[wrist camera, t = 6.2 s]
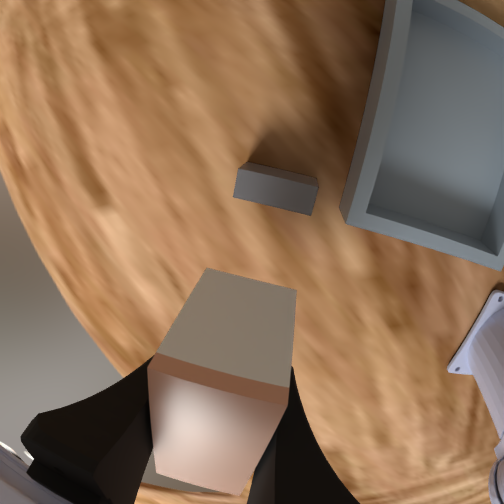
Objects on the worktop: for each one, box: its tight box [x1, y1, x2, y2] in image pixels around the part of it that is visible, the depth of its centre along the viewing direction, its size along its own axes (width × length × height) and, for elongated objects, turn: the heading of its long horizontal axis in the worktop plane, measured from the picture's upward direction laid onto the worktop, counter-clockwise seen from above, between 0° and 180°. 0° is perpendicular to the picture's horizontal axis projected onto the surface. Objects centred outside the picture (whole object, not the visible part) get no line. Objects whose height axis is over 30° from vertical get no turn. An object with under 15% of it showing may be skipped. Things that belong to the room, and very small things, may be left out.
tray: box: [339, 0, 504, 271], centre depth 13 cm, size 11×14×3 cm
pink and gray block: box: [147, 268, 297, 496], centre depth 11 cm, size 4×7×6 cm, turn 169°
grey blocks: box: [233, 162, 319, 216], centre depth 19 cm, size 4×13×2 cm, turn 169°
